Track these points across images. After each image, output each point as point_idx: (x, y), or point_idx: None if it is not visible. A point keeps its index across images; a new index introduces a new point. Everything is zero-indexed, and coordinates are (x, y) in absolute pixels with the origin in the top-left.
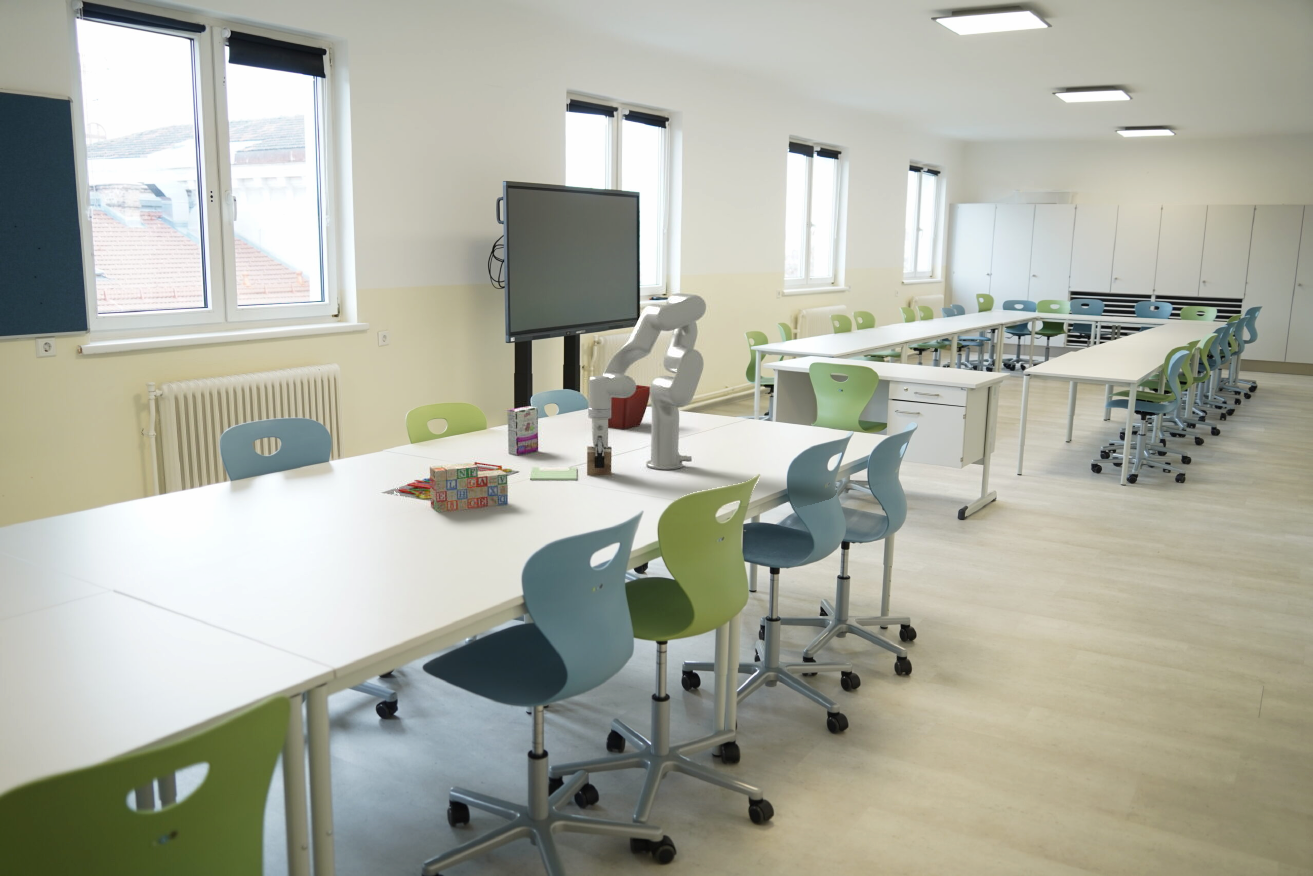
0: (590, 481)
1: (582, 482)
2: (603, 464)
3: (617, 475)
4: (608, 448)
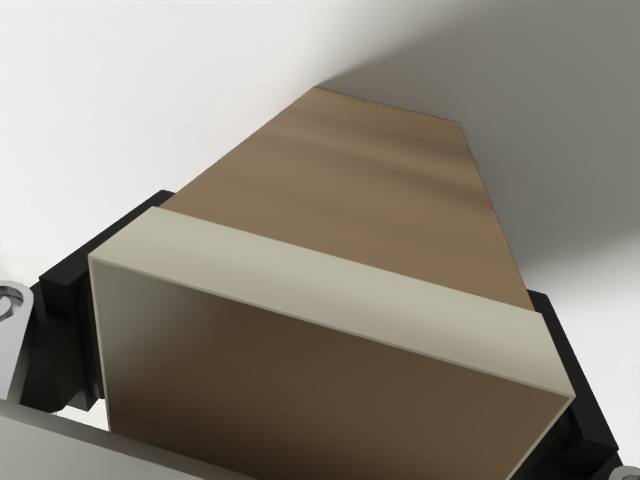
0: (631, 388)
1: (628, 445)
2: (553, 332)
3: (490, 36)
4: (416, 439)
